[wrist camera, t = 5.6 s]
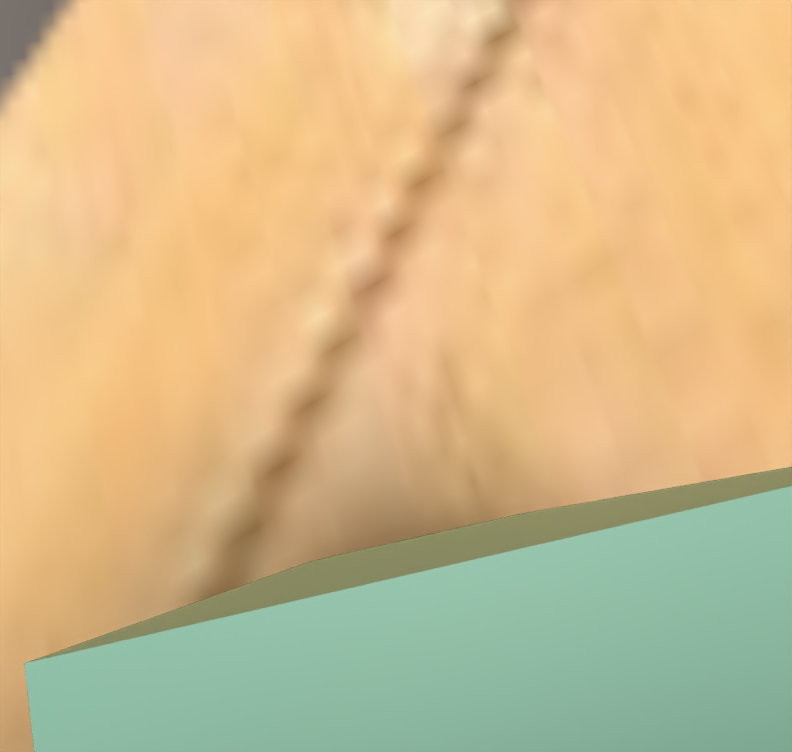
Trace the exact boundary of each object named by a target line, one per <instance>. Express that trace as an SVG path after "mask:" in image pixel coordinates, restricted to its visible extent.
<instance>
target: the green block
mask: <svg viewBox="0 0 792 752" xmlns="http://www.w3.org/2000/svg"><path fill="white" fill-rule="evenodd" d="M24 665H25V674H26V682H27V691H28V700H29V709H30V718H31V727H32V736H33V745H34V752H792V467H788V468H782V469H776V470H771V471H765V472H759V473H753V474H747V475H742V476H736V477H730V478H724V479H719V480H713V481H707V482H701V483H695V484H690V485H684V486H678V487H672V488H667V489H661V490H655V491H649V492H643V493H638V494H632V495H626V496H620V497H615V498H609V499H603V500H597V501H591V502H586V503H580V504H574V505H568V506H563V507H557V508H551V509H545V510H539V511H534V512H528V513H522V514H517V515H513V516H508V517H504V518H500V519H495V520H491V521H486V522H482V523H478V524H473V525H469V526H464V527H460V528H456V529H451V530H447V531H442V532H438V533H434V534H429V535H425V536H420V537H416V538H412V539H407V540H403V541H398V542H394V543H390V544H385V545H381V546H376V547H372V548H368V549H363V550H359V551H354V552H350V553H346V554H341V555H337V556H333V557H328V558H324V559H319V560H315V561H311V562H308V563H305V564H302V565H299V566H296V567H294V568H291V569H288V570H285V571H282V572H280V573H277V574H274V575H271V576H268V577H266V578H263V579H260V580H257V581H254V582H252V583H249V584H246V585H243V586H240V587H237V588H235V589H232V590H229V591H226V592H223V593H221V594H218V595H215V596H212V597H209V598H207V599H204V600H201V601H198V602H195V603H193V604H190V605H187V606H184V607H181V608H179V609H176V610H173V611H170V612H167V613H165V614H162V615H159V616H156V617H153V618H150V619H148V620H145V621H142V622H139V623H136V624H134V625H131V626H128V627H125V628H122V629H120V630H117V631H114V632H111V633H108V634H106V635H103V636H100V637H97V638H94V639H92V640H89V641H86V642H83V643H80V644H78V645H75V646H72V647H69V648H66V649H63V650H61V651H58V652H55V653H52V654H49V655H47V656H44V657H41V658H38V659H35V660H33V661H30V662H27V663H24Z"/></svg>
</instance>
